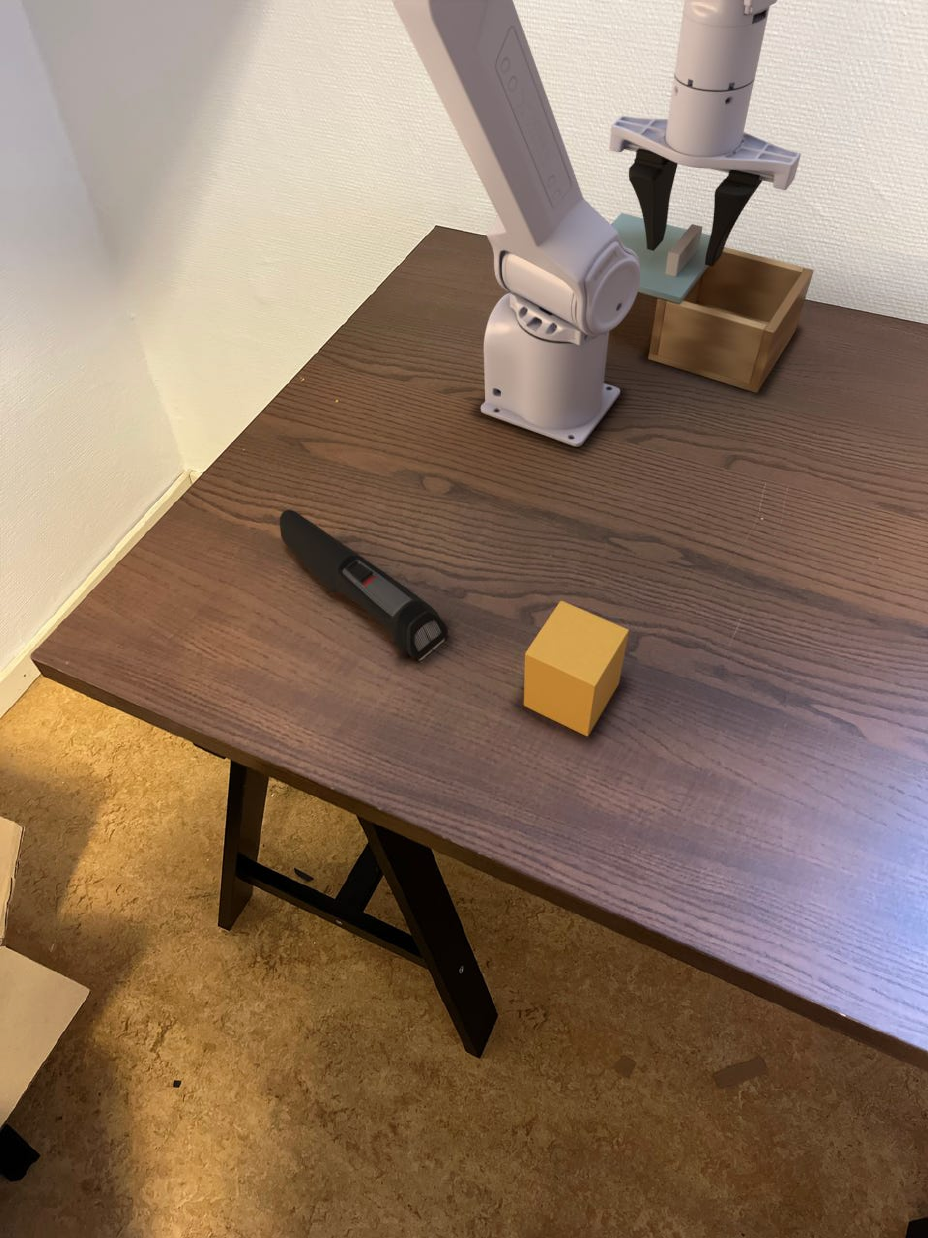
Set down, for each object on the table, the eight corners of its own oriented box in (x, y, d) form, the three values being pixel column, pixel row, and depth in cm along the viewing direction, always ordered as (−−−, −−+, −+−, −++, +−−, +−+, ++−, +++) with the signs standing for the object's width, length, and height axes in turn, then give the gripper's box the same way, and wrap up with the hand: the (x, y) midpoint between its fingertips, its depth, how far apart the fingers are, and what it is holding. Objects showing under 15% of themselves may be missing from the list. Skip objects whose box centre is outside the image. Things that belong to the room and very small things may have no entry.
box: (647, 359, 76) (657, 298, 71) (691, 301, 81) (702, 240, 76) (757, 393, 73) (774, 332, 68) (795, 330, 78) (814, 269, 73)
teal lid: (571, 272, 74) (573, 244, 72) (620, 218, 79) (623, 190, 77) (679, 303, 71) (685, 274, 69) (724, 245, 76) (730, 216, 74)
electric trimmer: (312, 524, 66) (304, 494, 64) (452, 634, 59) (449, 606, 57) (273, 551, 65) (263, 522, 62) (412, 667, 58) (407, 640, 55)
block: (523, 705, 55) (524, 653, 51) (556, 654, 58) (560, 600, 53) (587, 737, 54) (595, 686, 49) (619, 683, 56) (629, 629, 51)
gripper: (831, 71, 61) (783, 250, 72) (644, 37, 66) (625, 210, 77) (799, 111, 58) (753, 292, 69) (604, 72, 63) (590, 248, 74)
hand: (683, 252), depth 73 cm, fingers open, 5 cm apart
